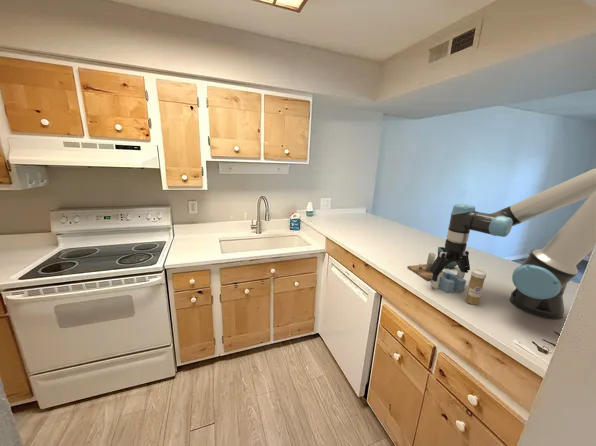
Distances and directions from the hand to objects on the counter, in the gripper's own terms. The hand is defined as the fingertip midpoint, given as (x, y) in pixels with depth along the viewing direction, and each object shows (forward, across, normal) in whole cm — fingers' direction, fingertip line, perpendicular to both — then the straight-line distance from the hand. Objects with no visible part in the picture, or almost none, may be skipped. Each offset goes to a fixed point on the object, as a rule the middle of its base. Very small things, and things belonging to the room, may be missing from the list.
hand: (446, 285), depth 108 cm
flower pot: (+1, -18, -18) cm, 25 cm away
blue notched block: (0, 0, 0) cm, 0 cm away
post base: (0, -2, -13) cm, 13 cm away
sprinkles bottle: (0, 0, +12) cm, 12 cm away
